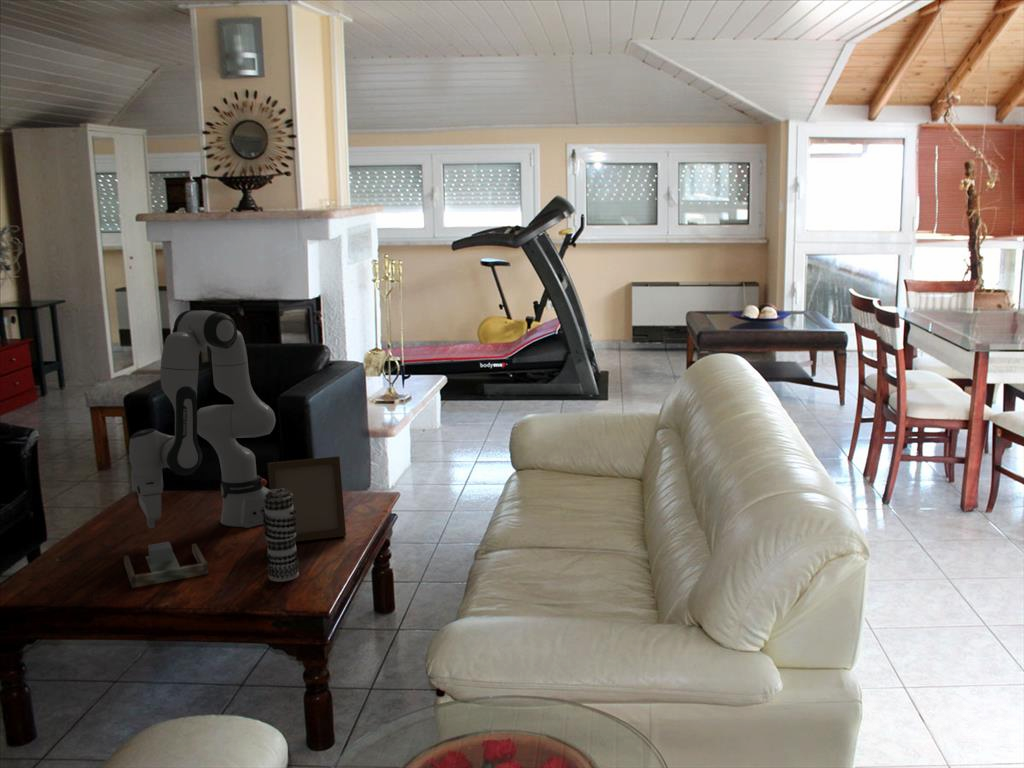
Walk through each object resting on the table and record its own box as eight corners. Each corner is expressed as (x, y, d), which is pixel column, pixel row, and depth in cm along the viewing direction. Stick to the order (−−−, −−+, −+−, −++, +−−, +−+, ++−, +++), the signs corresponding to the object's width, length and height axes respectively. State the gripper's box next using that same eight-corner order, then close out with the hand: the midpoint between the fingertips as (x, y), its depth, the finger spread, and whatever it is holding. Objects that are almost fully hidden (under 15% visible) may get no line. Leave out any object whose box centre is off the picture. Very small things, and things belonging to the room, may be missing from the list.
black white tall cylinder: (286, 567, 286) (280, 483, 281) (307, 574, 280) (301, 489, 275) (260, 577, 279) (253, 491, 274) (281, 584, 273) (274, 497, 268)
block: (170, 553, 298) (169, 541, 297) (173, 560, 293) (172, 547, 292) (149, 557, 296) (148, 544, 295) (151, 564, 290) (150, 551, 290)
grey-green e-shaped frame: (194, 548, 303) (193, 539, 302) (208, 574, 282) (207, 564, 282) (123, 560, 294) (122, 551, 293) (132, 588, 273) (131, 578, 273)
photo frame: (346, 538, 308) (341, 460, 303) (274, 547, 302) (268, 467, 297) (341, 524, 322) (336, 449, 317) (272, 532, 316) (266, 456, 312)
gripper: (131, 477, 308) (135, 520, 310) (141, 491, 290) (145, 537, 292) (153, 474, 311) (156, 517, 313) (163, 488, 293) (167, 533, 295)
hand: (151, 527), depth 303 cm, fingers closed
